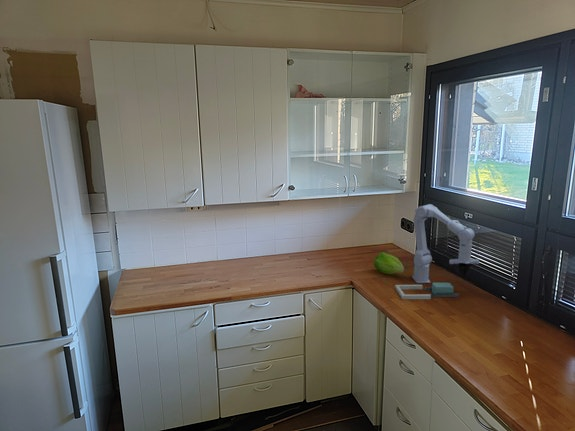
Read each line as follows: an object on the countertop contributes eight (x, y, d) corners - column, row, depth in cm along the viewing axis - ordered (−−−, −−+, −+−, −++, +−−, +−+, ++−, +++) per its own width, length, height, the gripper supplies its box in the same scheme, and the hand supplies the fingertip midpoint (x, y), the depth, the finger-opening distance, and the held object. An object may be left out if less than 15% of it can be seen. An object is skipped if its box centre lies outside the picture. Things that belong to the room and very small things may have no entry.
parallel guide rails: (424, 289, 206) (424, 287, 206) (451, 289, 206) (452, 287, 206) (430, 297, 197) (430, 294, 197) (459, 297, 197) (459, 294, 197)
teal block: (431, 291, 205) (432, 282, 204) (448, 291, 204) (449, 282, 203) (435, 296, 199) (436, 287, 198) (452, 296, 199) (453, 287, 197)
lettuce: (393, 282, 217) (395, 262, 215) (369, 271, 234) (369, 253, 231) (410, 277, 225) (411, 257, 222) (385, 267, 241) (385, 249, 239)
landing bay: (395, 288, 209) (395, 284, 208) (421, 288, 209) (421, 284, 208) (402, 299, 195) (402, 295, 195) (430, 299, 195) (430, 295, 195)
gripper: (454, 254, 193) (451, 279, 196) (482, 254, 192) (480, 279, 195) (448, 250, 200) (446, 274, 203) (476, 249, 199) (473, 274, 202)
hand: (462, 276), depth 199 cm, fingers closed
